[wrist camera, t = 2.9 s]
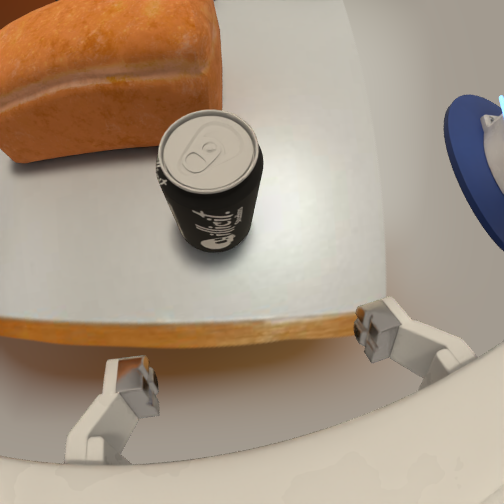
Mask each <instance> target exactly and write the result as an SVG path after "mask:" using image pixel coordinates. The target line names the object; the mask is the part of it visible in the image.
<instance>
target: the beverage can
mask: <svg viewBox="0 0 504 504" xmlns="http://www.w3.org/2000/svg"><path fill="white" fill-rule="evenodd" d="M262 171H263V155H262V151H261V149H260V146H259V144H258V141H257V137H256V135H255V133H254V131H253V130H252V128H251V127H250V126H249V125H248V124H247V123H246V122H245V121H244V120H243V119H241V118H240V117H238V116H236V115H234V114H232V113H229V112H226V111H221V110H201V111H196V112H193V113H190V114H187V115H185V116H183V117H181V118H180V119H178V120H177V121H175V122H174V123H173V124H172V125H171V126H170V127H169V128H168V129H167V130H166V132H165V133H164V135H163V137H162V139H161V141H160V144H159V149H158V157H157V162H156V174H157V178H158V181H159V184H160V186H161V188H162V191H163V193H164V195H165V198H166V200H167V202H168V204H169V207H170V209H171V211H172V214H173V216H174V218H175V220H176V222H177V225H178V227H179V229H180V231H181V233H182V235H183V237H184V238H185V239H186V241H187V242H188V243H189V244H191V245H192V246H193V247H195V248H197V249H199V250H202V251H205V252H223V251H226V250H229V249H231V248H233V247H235V246H237V245H238V244H239V243H240V242H241V241H242V240H243V239H244V238H245V237H246V235H247V233H248V232H249V229H250V226H251V222H252V218H253V213H254V208H255V204H256V199H257V194H258V190H259V185H260V181H261V176H262Z"/></svg>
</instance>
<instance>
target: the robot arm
mask: <svg viewBox="0 0 504 504" xmlns="http://www.w3.org/2000/svg"><path fill="white" fill-rule="evenodd" d="M499 100H500V104H501V108H502V112H503V113H502V114H501V115H500V116H493V115H484V116H482V117H481V118H480V120H481V124H482V128H483V131H484V151H485V155H486V159H487V162H488V165H489V167H490V170H491V172H492V174H493V177H494V179H495V181H496V182H497V184H498V186H499V188H500V189H501V191H502V193H503V194H504V99H503V96H502V95H501V96H500V97H499ZM356 315H357V317H358V318H357V319H356V321H355V322H354V333H355V337H356V339H357V341H358V343H359V344H361V345H363V346H365V351H364V352H365V354H366V355H367V357H368V359H369V360H370V362H371V363H375V362H377V361H380V360H383V359H386V358H389V357H390V359H392V360H394V361H395V362H397V363H399V364H400V365H402V366H404V367H405V368H407V369H409V370H410V371H412V372H414V373H415V374H417V375H419V376H420V377H422V378H424V379H423V382H422V383H421V385H420V387H419V390H418V391H417V392H415V393H413V394H411V395H408V396H407V397H404V398H402V399H400V400H398V401H395V402H393V403H391V404H389V405H386V406H384V407H382V408H379V409H377V410H374V411H372V412H369V413H367V414H364V415H362V416H359V417H357V418H354V419H351V420H349V421H346V422H343V423H340V424H338V425H335V426H332V427H329V428H326V429H323V430H320V431H316V432H313V433H310V434H307V435H304V436H300V437H296V438H293V439H289V440H286V441H282V442H278V443H274V444H270V445H266V446H262V447H258V448H253V449H249V450H244V451H239V452H234V453H229V454H223V455H217V456H211V457H204V458H198V459H191V460H182V461H173V462H163V463H150V464H135V465H134V464H133V465H132V464H131V463H130V462H129V461H128V460H127V459H126V458H124V457H123V456H122V455H121V452H122V451H123V449H124V447H125V445H126V443H127V441H128V439H129V437H130V436H131V434H132V432H133V430H134V428H135V426H136V425H137V423H138V421H139V418H145V417H153V416H159V401H158V399H157V397H156V395H157V393H158V392H159V391H158V381H157V377H156V374H155V372H154V370H153V369H152V368H151V367H149V360H148V359H147V357H146V356H145V355H143V356H135V357H127V358H120V359H112V360H108V361H107V363H106V369H105V376H104V383H103V392H102V394H100V395H98V396H97V398H96V399H95V400H94V402H93V403H92V404H91V406H90V407H89V408H88V409H87V410H86V412H85V413H84V414H83V415H82V417H81V418H80V419H79V421H78V422H77V423H76V424H75V426H74V427H73V428H72V430H71V431H70V432H69V434H68V435H67V439H66V449H65V457H64V464H59V463H48V462H38V461H30V460H23V459H16V458H10V457H4V456H0V504H504V341H503V342H501V343H500V344H498V345H497V346H495V347H494V348H492V349H491V350H489V351H488V352H486V353H484V354H483V355H481V356H480V357H477V356H476V355H475V353H474V352H473V351H472V350H471V349H470V348H469V346H468V345H467V344H466V343H465V341H464V340H463V339H462V338H460V337H457V336H455V335H452V334H450V333H447V332H445V331H442V330H440V329H438V328H435V327H433V326H430V325H427V324H425V323H423V322H420V321H418V320H412V319H411V318H410V317H409V316H408V314H407V313H406V312H405V311H404V310H403V308H402V307H401V306H400V305H399V304H398V303H397V302H396V300H395V299H394V298H393V297H391V296H389V297H386V298H383V299H380V300H376V301H373V302H370V303H367V304H364V305H361V306H358V307H357V309H356Z"/></svg>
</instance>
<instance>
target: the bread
mask: <svg viewBox="0 0 504 504" xmlns="http://www.w3.org/2000/svg"><path fill="white" fill-rule="evenodd" d="M201 110H221V111H222V57H221V41H220V29H219V25H218V20H217V16H216V11H215V7H214V2H213V0H58V1H56V2H54V3H51V4H49V5H46V6H44V7H42V8H39V9H37V10H35V11H33V12H30V13H28V14H26V15H25V16H23V17H21V18H19V19H17V20H15V21H13V22H12V23H10V24H8V25H7V26H5V27H4V28H2V29H1V30H0V149H1V150H2V151H3V152H4V153H6V154H7V155H8V156H9V157H10V158H11V159H12V160H13V161H14V162H16V163H29V162H34V161H40V160H45V159H51V158H57V157H64V156H70V155H77V154H84V153H91V152H98V151H106V150H114V149H124V148H135V147H147V146H159V144H160V141H161V139H162V137H163V135H164V133H165V132H166V130H167V129H168V128H169V127H170V126H171V125H172V124H173V123H174V122H175V121H177V120H178V119H180V118H181V117H183V116H185V115H187V114H190V113H193V112H196V111H201Z"/></svg>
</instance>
